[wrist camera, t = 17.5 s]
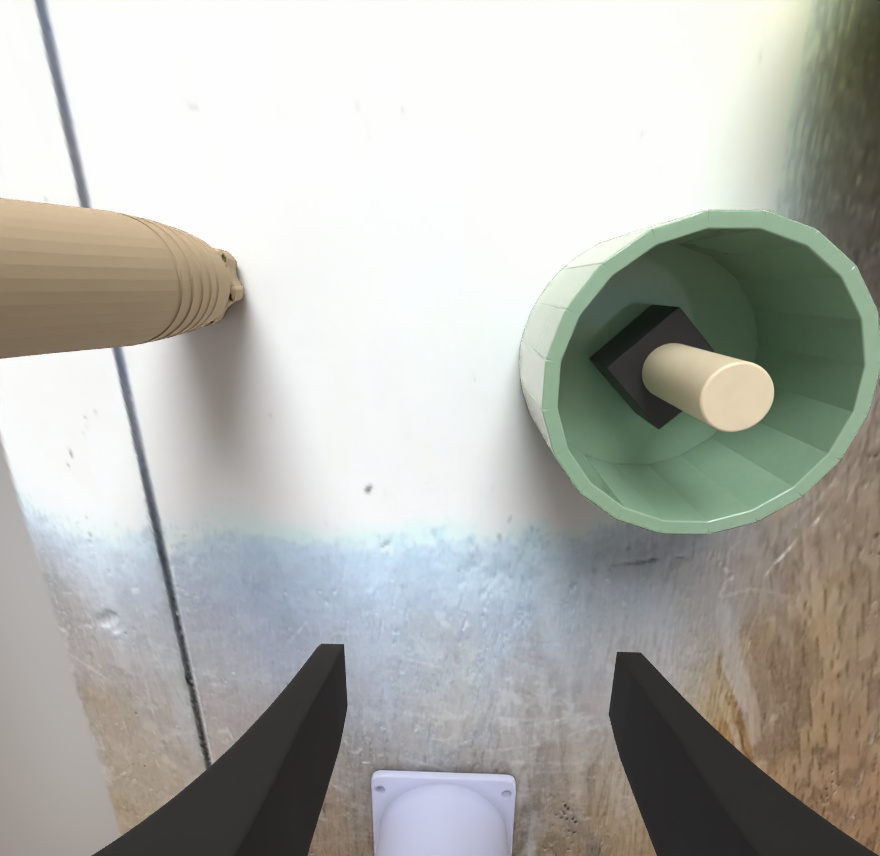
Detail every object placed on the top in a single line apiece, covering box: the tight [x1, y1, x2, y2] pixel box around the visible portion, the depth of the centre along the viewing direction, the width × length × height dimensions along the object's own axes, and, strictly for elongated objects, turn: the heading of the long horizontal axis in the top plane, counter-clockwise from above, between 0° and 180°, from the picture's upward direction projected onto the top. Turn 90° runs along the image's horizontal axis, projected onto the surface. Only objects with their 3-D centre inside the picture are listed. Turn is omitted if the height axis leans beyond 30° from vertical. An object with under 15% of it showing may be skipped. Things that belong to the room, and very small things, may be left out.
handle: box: [0, 198, 244, 359], centre depth 13 cm, size 5×6×15 cm
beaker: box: [519, 210, 880, 534], centre depth 18 cm, size 10×10×6 cm
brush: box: [589, 304, 774, 432], centre depth 17 cm, size 3×3×7 cm
